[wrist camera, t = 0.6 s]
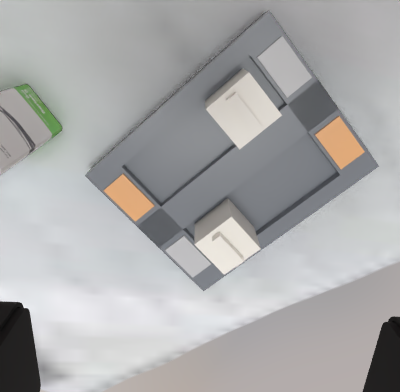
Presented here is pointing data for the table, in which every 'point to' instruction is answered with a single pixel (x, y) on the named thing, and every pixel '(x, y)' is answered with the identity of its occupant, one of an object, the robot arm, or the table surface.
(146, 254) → the table surface
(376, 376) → the robot arm
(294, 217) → the switch board
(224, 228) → the tab
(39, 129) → the ink box
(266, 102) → the tab
